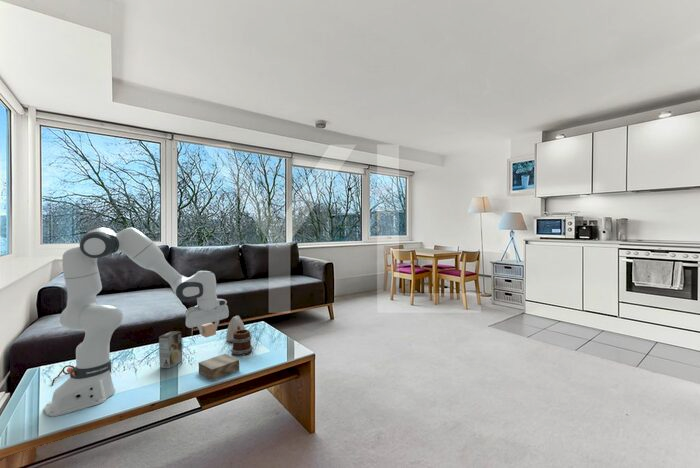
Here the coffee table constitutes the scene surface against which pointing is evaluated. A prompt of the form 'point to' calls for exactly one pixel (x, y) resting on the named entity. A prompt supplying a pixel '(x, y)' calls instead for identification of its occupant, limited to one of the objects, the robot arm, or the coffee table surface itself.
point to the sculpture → (234, 327)
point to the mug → (241, 342)
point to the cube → (209, 329)
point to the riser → (218, 366)
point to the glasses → (61, 372)
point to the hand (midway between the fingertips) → (208, 331)
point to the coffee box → (170, 349)
